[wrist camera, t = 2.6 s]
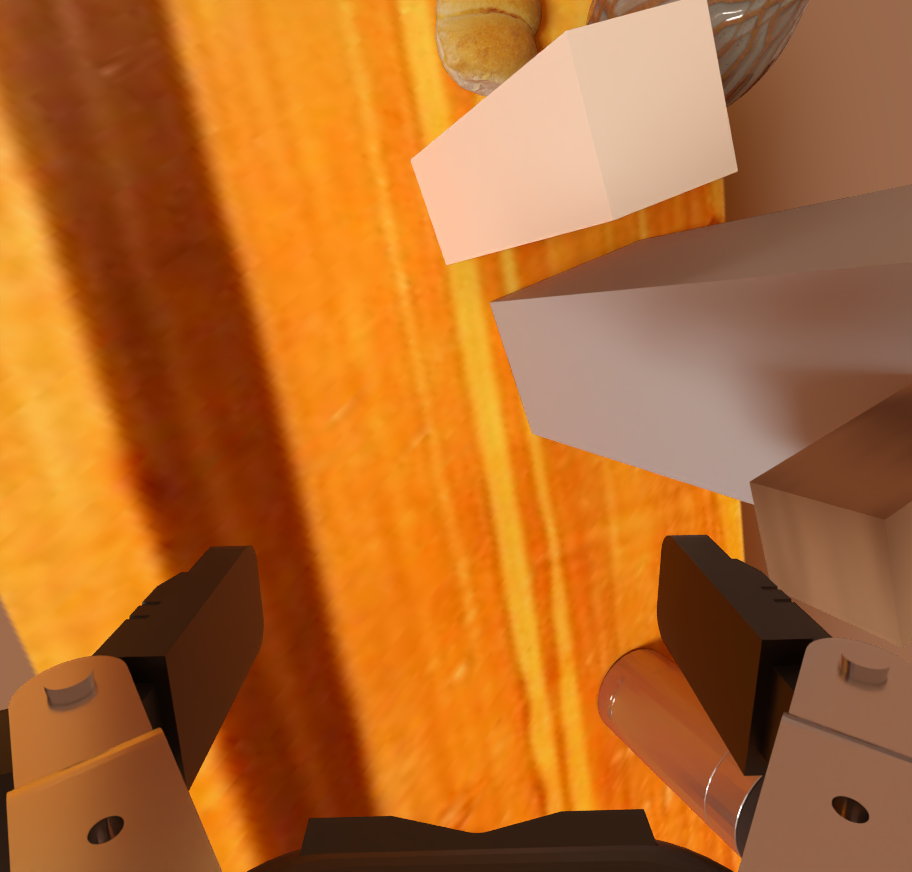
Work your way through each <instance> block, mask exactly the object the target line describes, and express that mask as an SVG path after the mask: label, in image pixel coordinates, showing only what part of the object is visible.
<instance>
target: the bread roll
mask: <svg viewBox="0 0 912 872" xmlns="http://www.w3.org/2000/svg"><path fill="white" fill-rule="evenodd" d="M541 16H542V11H541V2H540V0H437V5H436V21H437V23H436V43H437V48H438V52H439V56H440V58H441V61H442V63H443V66H444V68H445V70H446V71H447V73H448V74H449V75H450V77H451V78H452V79H453V80H454V81H455V82H456V83H457V84H458V85H459V86H460V87H461V88H464V89H466V90H469V91H472V92H474V93H476V94H479V95H483V96H488V95H489V94H491V93H492V92H493V91H494V90H495V89H497V88H498V87H499V86H500V85H501V84H503V83H504V82H505V81H506V80H507V79H509V78H510V77H511V76H512V75H513V74H515V73H516V72H517V71H518V70H519V69H521V68H522V67H523V66H524V65H525V64H527V63H528V62H529V61H530V60H532V59H533V58H534V57H535V56H536V55H538V51H537V46H536V42H535V40H534V35H535V34H536V32H537V30H538V28H539V25H540V22H541Z"/></svg>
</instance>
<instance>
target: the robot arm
mask: <svg viewBox="0 0 912 872" xmlns="http://www.w3.org/2000/svg"><path fill="white" fill-rule="evenodd" d="M657 620H658V626H659V630H660V634H661V637H662V639H663V641H664V643H665V645H666V646H667V648H668V650H669V651H670V653H671V655H672V656H673V658H674V660H675V661H676V663H677V665H678V666H679V667H678V666H676V665H675V664H674V663H672V662H671V661H669V660H668V659H667V658H665V657H664V656H662V655H661V654H660V653H658V652H656V651H654V650H650V649H639V650H636V651H633V652H630V653H629V654H627V655H625V656H623V657H622V658H621V659H620V660H619V661H617V662H616V663H615V664H614V666H613V667H612V668H611V669H610V670H609V672H608V674H607V675H606V677H605V679H604V681H603V683H602V686H601V689H600V693H599V701H598V706H599V713H600V715H601V718H602V720H603V721H604V723H605V724H606V725H607V726H608V727H609V728H610V729H611V730H612V731H613V732H614V733H615V734H616V735H617V736H618V737H619V738H620V739H621V740H622V741H623V742H624V743H625V744H626V745H627V746H628V747H629V748H630V749H631V750H632V751H633V752H634V753H635V754H636V755H637V756H638V757H639V758H640V759H641V760H642V761H643V762H644V763H645V764H646V765H647V766H648V767H649V768H650V769H651V770H652V771H653V772H654V773H655V774H656V775H657V776H658V777H659V778H660V779H661V780H662V781H663V782H664V783H665V784H666V785H667V786H668V787H669V788H670V789H671V790H673V791H674V792H675V793H676V794H677V795H678V796H679V797H680V798H681V799H682V800H683V801H684V802H685V803H686V804H687V805H688V806H689V807H690V808H691V809H692V810H693V811H694V812H695V813H696V814H697V815H698V816H699V817H700V818H701V819H702V820H703V821H704V822H705V823H706V824H707V825H708V826H709V827H710V828H711V829H712V830H713V831H714V832H715V833H716V834H717V835H718V836H719V837H720V838H721V839H723V840H724V841H725V842H726V843H727V844H728V845H729V846H730V847H731V848H732V849H733V850H734V851H735V852H736V853H737V854H738V855H739V856H740V857H741V858H742V860H741V863H740V867H739V870H738V872H912V665H911V664H910V663H908V662H907V661H905V660H904V659H902V658H901V657H899V656H897V655H895V654H893V653H891V652H889V651H887V650H885V649H882V648H880V647H877V646H875V645H872V644H868V643H865V642H861V641H857V640H852V639H845V638H833V637H831V636H830V635H829V634H828V633H827V632H826V631H825V630H824V629H823V628H822V627H821V626H819V624H817V623H816V622H815V621H814V620H813V619H812V618H811V617H810V616H809V615H808V614H807V613H806V612H804V611H803V610H802V609H801V608H800V607H799V606H798V605H797V604H796V603H795V602H791V598H789V597H788V596H787V595H786V594H785V593H784V592H783V591H782V590H781V589H780V590H778V586H777V585H775V584H774V583H773V582H772V581H771V580H770V579H769V578H768V577H767V576H766V575H765V574H764V573H763V572H761V571H759V570H758V569H756V568H754V567H752V566H750V565H748V564H746V563H744V562H742V561H740V560H738V559H731V558H730V557H729V556H728V555H727V554H726V553H725V552H724V551H723V550H722V549H721V548H720V547H719V546H718V545H717V544H716V543H715V542H714V541H713V540H712V539H711V538H710V537H709V536H707V535H673V536H666V537H665V539H664V541H663V544H662V550H661V562H660V575H659V588H658V601H657ZM263 627H264V621H263V610H262V601H261V592H260V584H259V575H258V566H257V558H256V553H255V550H254V549H253V547H252V546H217V547H210V548H209V549H208V550H207V551H206V552H205V553H204V555H203V556H202V557H201V558H200V559H199V560H198V561H197V563H196V564H195V565H194V566H193V567H192V568H191V569H190V570H189V572H181V573H179V574H178V575H176V576H174V577H172V578H171V579H169V580H167V581H166V582H164V583H162V584H160V585H159V586H157V587H156V588H155V589H154V590H153V592H152V593H151V594H150V595H149V596H148V597H147V598H146V599H145V600H144V601H143V602H142V606H138V607H137V609H136V610H135V611H134V612H133V613H132V614H131V615H130V618H129V619H126V620H125V621H124V622H123V623H122V624H121V626H120V627H119V628H118V629H117V630H116V631H115V632H114V633H113V634H112V635H111V636H110V637H109V638H108V639H107V640H106V641H105V643H104V644H103V645H102V646H101V647H100V648H99V649H98V650H97V651H96V652H95V653H94V654H93V655H92V656H89V657H83V658H78V659H74V660H71V661H67V662H64V663H61V664H59V665H56V666H54V667H52V668H49V669H47V670H45V671H43V672H42V673H40V674H38V675H36V676H35V677H33V678H32V679H30V680H29V681H28V682H26V683H25V684H24V685H22V686H21V688H19V689H18V691H16V693H15V694H14V695H13V697H12V698H11V700H10V703H9V708H8V709H5V710H1V711H0V872H222V870H221V868H220V865H219V863H218V861H217V858H216V856H215V854H214V851H213V849H212V846H211V844H210V842H209V839H208V837H207V835H206V832H205V830H204V827H203V825H202V823H201V820H200V818H199V815H198V813H197V811H196V808H195V806H194V804H193V801H192V799H191V796H190V794H189V792H188V791H189V789H190V787H191V785H192V783H193V781H194V780H195V778H196V776H197V774H198V772H199V770H200V768H201V766H202V764H203V762H204V760H205V758H206V756H207V754H208V752H209V750H210V748H211V746H212V744H213V742H214V740H215V738H216V736H217V734H218V732H219V730H220V728H221V726H222V724H223V722H224V720H225V718H226V716H227V714H228V712H229V710H230V708H231V706H232V704H233V702H234V700H235V698H236V696H237V694H238V692H239V690H240V688H241V686H242V684H243V682H244V680H245V678H246V676H247V674H248V672H249V670H250V668H251V666H252V664H253V662H254V660H255V658H256V656H257V654H258V652H259V650H260V647H261V643H262V638H263ZM247 872H733V871H731V870H730V869H728V868H726V867H725V866H723V865H721V864H719V863H717V862H715V861H713V860H712V859H710V858H708V857H705V856H703V855H701V854H698V853H696V852H694V851H691V850H689V849H687V848H684V847H680V846H677V845H674V844H671V843H668V842H664V841H660V840H655V838H654V836H653V833H652V830H651V828H650V825H649V822H648V820H647V817H646V814H645V812H644V809H632V810H596V811H562V812H558V813H554V814H551V815H547V816H543V817H540V818H536V819H532V820H529V821H525V822H521V823H518V824H514V825H510V826H507V827H503V828H500V829H496V830H492V831H489V832H484V833H469V832H464V831H460V830H455V829H450V828H446V827H441V826H436V825H431V824H427V823H422V822H417V821H413V820H408V819H403V818H398V817H394V816H375V817H339V818H309V821H308V825H307V829H306V832H305V836H304V840H303V844H302V848H301V849H300V850H296V851H293V852H289V853H287V854H284V855H281V856H279V857H276V858H274V859H271V860H269V861H267V862H265V863H263V864H261V865H259V866H257V867H255V868H253V869H251V870H249V871H247Z"/></svg>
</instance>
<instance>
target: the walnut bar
mask: <svg viewBox="0 0 912 872" xmlns="http://www.w3.org/2000/svg"><path fill="white" fill-rule="evenodd" d="M749 483H750V488H751V493H752V497H753V502H754V507H755V512H756V516H757V521H758V526H759V531H760V535H761V541H762V545H763V550H764V555H765V559H766V564H767V569H768V574H769V579H770V580H771V581H772V582H773V583H774V584H775V585H777V586H778V590H780V589H781V590H782V591H783V592H784V593H785V594H786V595H787V596H789V597H791V598H794V599H796V600H798V601H800V602H802V603H805V604H807V605H809V606H811V607H813V608H816V609H818V610H820V611H822V612H825V613H827V614H829V615H831V616H833V617H835V618H838V619H840V620H842V621H844V622H846V623H848V624H850V625H853V626H855V627H857V628H859V629H861V630H864V631H866V632H868V633H870V634H872V635H874V636H877V637H879V638H881V639H883V640H885V641H888V642H890V643H892V644H894V645H896V646H899V647H901V648H903V647H904V646H905V645H906V644H908V643H909V642H910V641H911V640H912V383H911V384H909V385H908V386H906V387H904V388H903V389H901V390H899V391H898V392H896V393H895V394H893V395H891V396H890V397H888V398H886V399H885V400H883V401H881V402H880V403H878V404H876V405H875V406H873V407H871V408H870V409H868V410H867V411H865V412H863V413H862V414H860V415H858V416H857V417H855V418H853V419H852V420H850V421H848V422H847V423H845V424H844V425H842V426H840V427H839V428H837V429H835V430H834V431H832V432H830V433H829V434H827V435H825V436H824V437H822V438H821V439H819V440H817V441H816V442H814V443H812V444H811V445H809V446H807V447H806V448H804V449H802V450H801V451H799V452H797V453H796V454H794V455H793V456H791V457H789V458H788V459H786V460H784V461H783V462H781V463H779V464H778V465H776V466H774V467H773V468H771V469H770V470H768V471H766V472H765V473H763V474H761V475H760V476H758V477H756V478H755V479H753V480H751V481H750V482H749Z"/></svg>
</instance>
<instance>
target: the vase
mask: <svg viewBox="0 0 912 872" xmlns="http://www.w3.org/2000/svg"><path fill="white" fill-rule="evenodd" d="M676 1H679V0H593V1H592V4H591V6H590V10H589V13H588V17H587V22H586V25H590V24H594V23H598V22H601V21H605V20H609V19H612V18H616V17H620V16H624V15H627V14H631V13H635V12H639V11H642V10H646V9H650V8H653V7H657V6H661V5H665V4H668V3H672V2H676ZM808 1H809V0H707V4H708V10H709V15H710V21H711V26H712V32H713V37H714V42H715V48H716V53H717V59H718V64H719V70H720V75H721V81H722V86H723V92H724V97H725V103H726V107H728V106H730V105H731V104H732V103H734V102H735V101H736V100H738V99H739V98H740V97H742V96H743V95H744V94H745V93H747V92H748V91H749V90H750V89H751V88H752V87H753V86H754V85H755V84H756V83H757V82H758V81H759V80H760V79H761V78H762V77H763V75H764V74H765V73H766V72H767V71H768V69H769V68H770V67H771V66H772V65H773V64H774V62H775V61H776V60H777V58H778V57H779V55H780V54H781V52H782V51H783V49H784V48H785V46H786V44H787V43H788V41H789V39H790V38H791V35H792V34H793V32H794V30H795V28H796V26H797V24H798V22H799V21H800V18H801V16H802V14H803V12H804V10H805V8H806V6H807V4H808Z"/></svg>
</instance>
